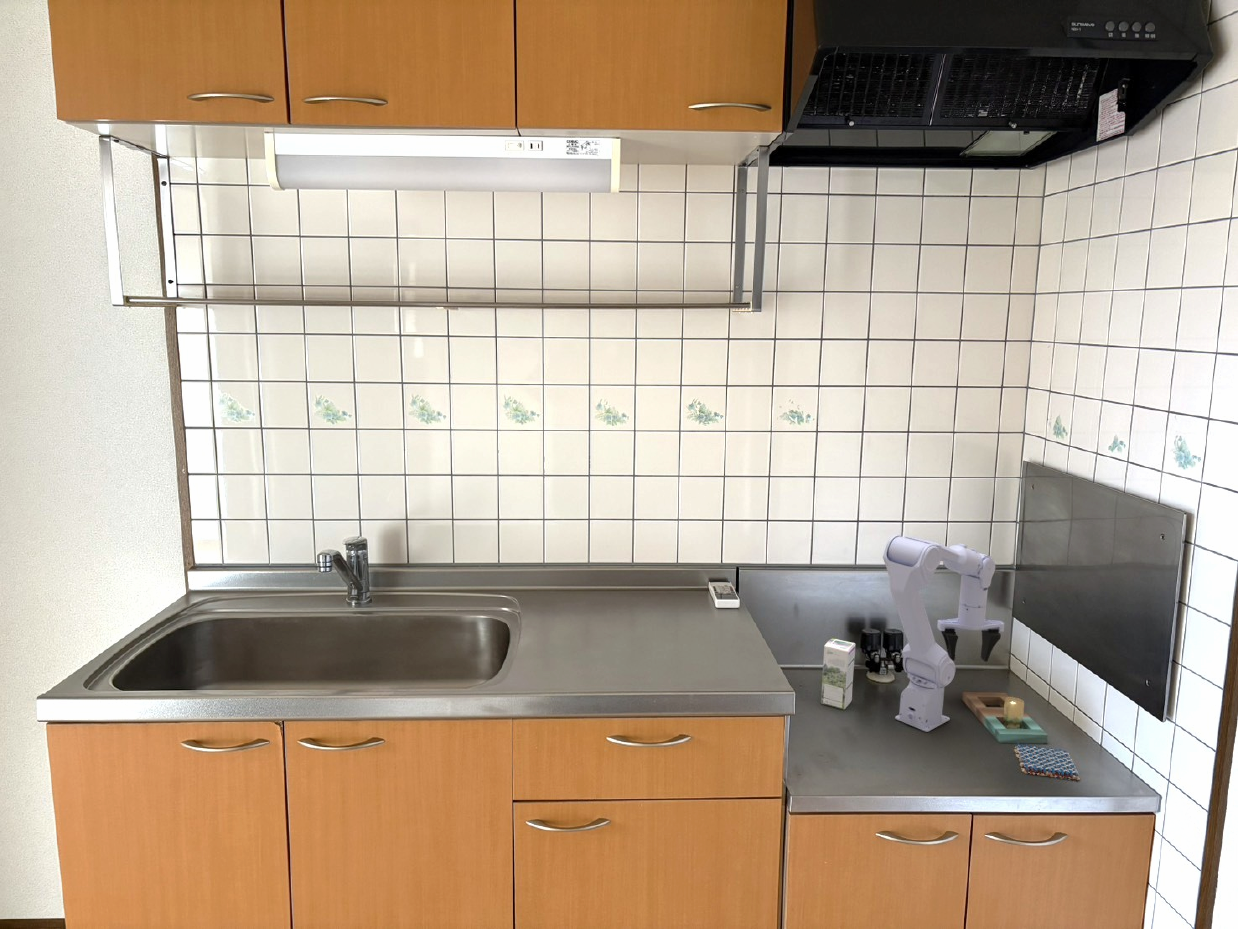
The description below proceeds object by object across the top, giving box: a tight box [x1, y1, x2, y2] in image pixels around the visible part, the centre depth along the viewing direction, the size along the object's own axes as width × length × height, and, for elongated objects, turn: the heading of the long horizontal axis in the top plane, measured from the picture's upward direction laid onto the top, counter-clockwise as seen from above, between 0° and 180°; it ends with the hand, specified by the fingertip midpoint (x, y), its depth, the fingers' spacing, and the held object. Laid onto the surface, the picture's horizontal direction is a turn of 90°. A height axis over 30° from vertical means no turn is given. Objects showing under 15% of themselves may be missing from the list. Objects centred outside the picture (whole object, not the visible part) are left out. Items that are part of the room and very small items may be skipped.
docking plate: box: [961, 691, 1048, 744], centre depth 189 cm, size 20×10×2 cm, turn 0°
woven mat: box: [1013, 743, 1081, 781], centre depth 171 cm, size 10×11×2 cm
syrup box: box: [820, 638, 856, 710], centre depth 195 cm, size 6×6×14 cm
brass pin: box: [1002, 696, 1025, 729], centre depth 184 cm, size 4×4×7 cm
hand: (967, 659), depth 196 cm, fingers open, 7 cm apart
